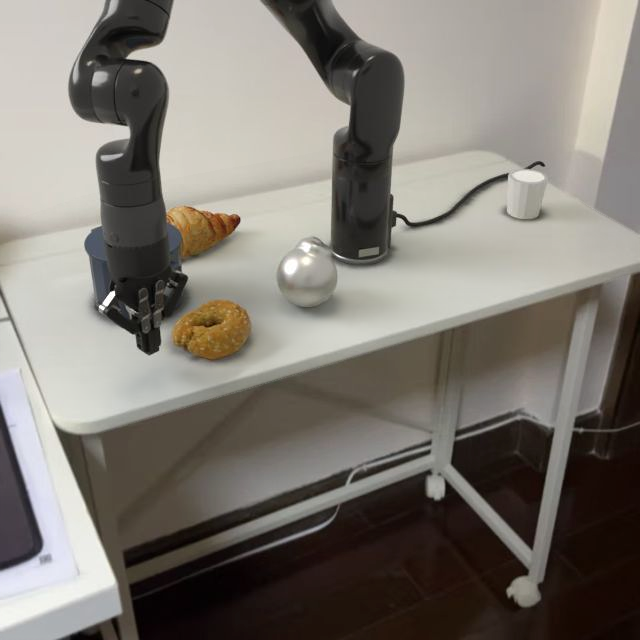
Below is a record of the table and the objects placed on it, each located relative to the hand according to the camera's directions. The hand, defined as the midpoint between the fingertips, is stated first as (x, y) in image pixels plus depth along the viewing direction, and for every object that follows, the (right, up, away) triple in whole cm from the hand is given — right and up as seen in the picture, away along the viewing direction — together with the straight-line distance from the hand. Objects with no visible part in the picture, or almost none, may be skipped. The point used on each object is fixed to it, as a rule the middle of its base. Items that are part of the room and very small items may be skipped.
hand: (149, 351), depth 111 cm
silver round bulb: (+20, +7, +17) cm, 27 cm away
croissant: (-1, +16, +31) cm, 35 cm away
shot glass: (+58, +23, +44) cm, 76 cm away
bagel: (+7, +1, +8) cm, 11 cm away
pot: (-5, +7, +17) cm, 19 cm away
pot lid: (-5, +15, +12) cm, 20 cm away
